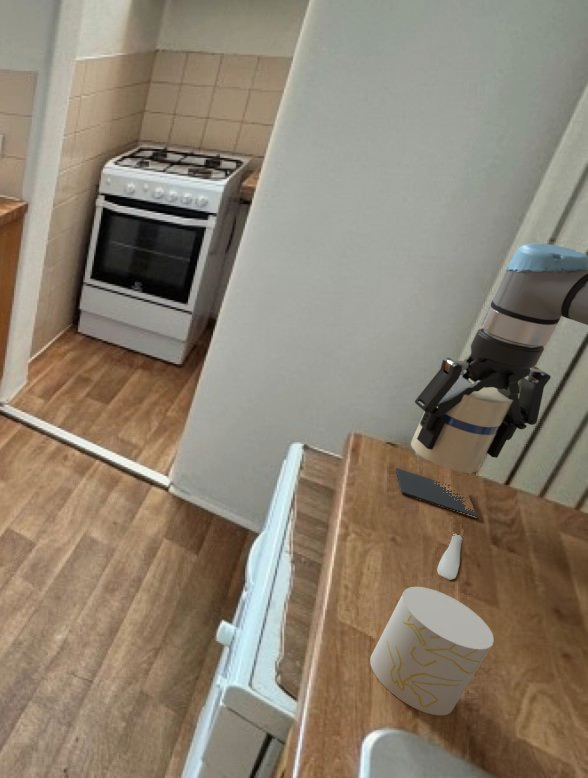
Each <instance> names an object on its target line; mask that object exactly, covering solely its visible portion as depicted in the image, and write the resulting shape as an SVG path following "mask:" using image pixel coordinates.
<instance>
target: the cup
mask: <svg viewBox="0 0 588 778" xmlns="http://www.w3.org/2000/svg"><path fill="white" fill-rule="evenodd" d="M494 640H495V639H494V634H493V632H492V630H491V629H490V627H489V626H488V624H487V623H486V622H485V621H484V620H483V618H482V617H480V616H479V615H478V614H477V613H476V612H475V611H473V610H472V609H471V608H470V607H468V606H467V605H465V604H463V603H462V602H461V601H459V600H457V599H455V598H454V597H452V596H450V595H447V594H446V593H443V592H441V591H439V590H435V589H432V588H428V587H424V586H411V587H407V588H406V589H404V591H403V592H402V593H401V596H400V598H399V600H398V602H397V604H396V606H395V608H394V610H393V612H392V614H391V615H390V618H389V620H388V622H387V623H386V626H385V628H384V629H383V631H382V633H381V636H380V637H379V639H378V642H377V644H376V646H375V647H374V650H373V652H372V653H371V656H370V658H369V659H370V660H369V661H370V662H369V663H370V667H371V670H372V672H373V674H374V675H375V677H376V678H377V680H378V681H379V682H380V683H381V685H382V686H383V687H384V688H386V690H387V691H388V692H390V693H391V694H392V695H393V696H395V697H396V698H397V699H399V700H400V701H401V702H403V703H404V704H406V705H407V706H410V707H411V708H414V709H416V710H417V711H420V712H422V713H424V714H428V715H433V716H447V715H449V714H451V713H452V712H453V710H454V709H455V707H456V705H458V704H457V703H458V702H459V701H460V699H461V697H462V695H463V694H464V693H465V691H466V689H467V688H468V686H469V684H470V682H471V681H472V679H473V678H474V676H475V674H476V673H477V671H478V669H479V668H480V666H481V664H482V662H483V661H484V659H485V658H486V656H487V654H488V653H489V651H490V650H491V648H492V646H493V645H494V642H495V641H494Z"/></svg>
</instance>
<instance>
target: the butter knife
mask: <svg viewBox="0 0 588 778" xmlns="http://www.w3.org/2000/svg"><path fill="white" fill-rule="evenodd" d="M457 534H458V533H455V534H453V535H455V536H452V535H451V540H450V542H449V545H448V547H447V548H446V551H445V552H444V553H443V554H442V556H441V558H440V560H439V562H438V566H437V573H438V575H439V576H440V577H441V578H443V579H446V580H448V581H451V580H454V579H456V578H457V575H458V572H459V568H460V562H461V549H462V543H463V539H464V537H463V538H462V537H461V536H460V535H457Z"/></svg>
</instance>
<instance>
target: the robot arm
mask: <svg viewBox="0 0 588 778" xmlns="http://www.w3.org/2000/svg"><path fill="white" fill-rule="evenodd" d="M561 317H563V318H565V319H567V320H568V319H569V320H572V321H575V322H577V323H579V324H583V325H586V326H588V255H587V254H586V253H584V252H580V251H576V250H575V249H573V248H568V247H565V246H559V245H554V244H546V243H536V242H535V243H526V244H523V245H521V246H519V247H518V248H517V250H516V251H515V253H514V255H513V257H512V258H511V260H510V262H509V264H508V266H506V267H505V271H504V274H503V276H502V277H501V281H500V283H499V285H498V287H497V289H496V292H495V294H494V296H493V298H492V300H491V302H490V304H489V306H488V308H487V310H486V312H485V315H484V317H483V319H482V321H481V323H480V327H481V328H479V329H477V331H476V334H475V336H474V337H473V340H472V342H471V344H470V355H468V357H466V358H465V359H464V360H454V359H453V358H451V357H445V358H443V360H442V362H441V364H440V365H441V366H440V369H439V370H438V371H437V373H436V374H435V375H434V376H433V378H432V379H430V381H429V382H428V384H427V385H426V386H425V388H424V389H423V390H422V391H421V393H420V394H419V395H418V396H417V397H416V399H415V400H414V403H415V404H416V406H418V407H419V408H420V409H421V410H422V411H423V413H424V411H425V413H424V415H423V414H422V416H423V418H422V417H421V418H422V420H421V419H420V420H421V422H420V421H419V422H420V425H421V426H422V429H421V431H420V433H419V435H418V437H417V439H418V440H419V441H420V442H421V443H422V444H423V445H424V446H425V447H426V448H427V449H433V447H434V445H435V443H436V441H437V439H438V437H439V435H440V433H441V430H442V428H443V426H444V424H445V422H446V420H447V419H446V418H445V417H444V416H443V415H444V414H445V413H447V412H448V411H449V410H450V409H452V408H453V407H454V406H456V405H457V404H458V403H460V402H461V400H462V398H463V396H464V395H470V394H471V393H472V392H474V391H476V392H477V391H480V390H481V389H482V388H484V387H486V388H489V387H494V388H497V391H498V392H500V393H501V394H503V395H504V396H505V397H507V398H508V399H511V400H513V402H512V404H511V406H510V408H509V410H508V412H507V414H506V416H505V418H504V420H503V422H502V424H501V426H500V428H499V430H498V432H497V434H496V436H495V438H494V440H493V442H492V444H491V446H490V448H489V450H488V452H487V454H488V455H489V456H490V457H491V458H495V459H497V458H499V455H500V454H501V451H502V449H503V448H504V447H505V444H506V442H507V441H510V440H511V439H512V438H513V437H514V434H515V433H516V431H517V429H518V430H525V429H526V428H527V424H528V425H530V426H533V425H536V424H537V422H538V418H539V414H540V410H541V409H540V408H541V405H542V404H541V403H542V399H543V394H544V390H545V386H546V385H547V384H548V382H549V381H550V379H551V378H552V377H551V375H550V374H549V373H547V372H545V371H544V370H542V369H540V368H539V367H537V364H538V362H539V360H540V358H541V356H542V354H543V353H544V351H545V348H544V346H547V345H548V343H549V341H550V339H551V337H552V335H553V333H554V332H555V330H556V327H557V325H558V323H559V322H560V320H561ZM469 378H470V379H471V380H472V381H473V382H475V383H471V382H470V381H469V380H468V379H469ZM519 381H521V385H519ZM519 386H520V387H519ZM451 388H453V389H454V390H450V389H451ZM437 406H438V408H437Z"/></svg>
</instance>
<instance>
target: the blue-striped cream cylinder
mask: <svg viewBox="0 0 588 778" xmlns="http://www.w3.org/2000/svg"><path fill="white" fill-rule="evenodd" d="M468 380H469V381H470V382H471V383H475V382H473V381H472V380H471V379H470V378H469V379H468ZM450 390H454V389H453V388H451V389H450ZM512 402H513V400H511V399H508V398H507V397H505V396H504V395H503V394H501V393H500V392H498V391H497V388H494V387H489V388H486V387H484V388H482V389H481V390H480V391H477V392H476V391H474V392H472V393H471V394H470V395H464V396H463V398H462V400H461V402H460V403H458V404H457V405H456V406H454V407H453V408H452V409H450V410H449V411H448V412H447V413H445V414H444V415H443V416H444V417H445V418H446V419H447V420H446V422H445V424H444V426H443V428H442V430H441V433H440V435H439V437H438V439H437V441H436V443H435V445H434V447H433V449H427V448H426V447H425V446H424V445H423V444H422V443H421V442H420V441H419V440H418V439H417V437H418V435H419V433H420V431H421V429H422V426H421V425H420V422H421V420H422V418H423V415H424V413H425V411H424V410H423V414H422V416H421V418H420V420H419V422H418V424H417V427H416V429H415V432H414V434H413V436H412V437H411V440H410V447H411V448H412V449H413V451H415V453H416V454H418V455H419V456H420V457H422V458H423V459H425V460H427V461H428V462H430V463H433V464H434V465H437V466H439V467H442V468H444V469H448V470H451V471H455V472H460V473H465V474H466V473H467V474H468V473H475V472H477V471H479V470H480V467H481V465H482V463H483V461H484V459H485V458H486V456H487V454H488V453H487V452H488V450H489V448H490V446H491V444H492V442H493V440H494V438H495V436H496V434H497V432H498V430H499V428H500V426H501V424H502V422H503V420H504V418H505V416H506V414H507V412H508V410H509V408H510V406H511V404H512ZM437 408H438V406H437Z"/></svg>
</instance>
